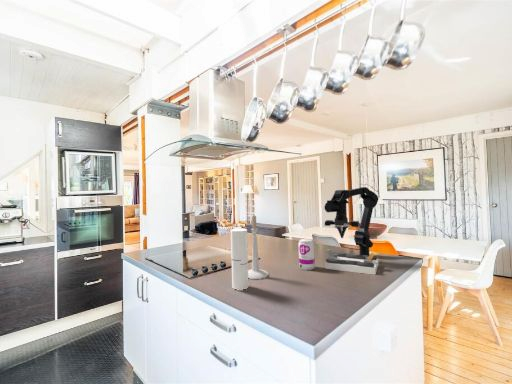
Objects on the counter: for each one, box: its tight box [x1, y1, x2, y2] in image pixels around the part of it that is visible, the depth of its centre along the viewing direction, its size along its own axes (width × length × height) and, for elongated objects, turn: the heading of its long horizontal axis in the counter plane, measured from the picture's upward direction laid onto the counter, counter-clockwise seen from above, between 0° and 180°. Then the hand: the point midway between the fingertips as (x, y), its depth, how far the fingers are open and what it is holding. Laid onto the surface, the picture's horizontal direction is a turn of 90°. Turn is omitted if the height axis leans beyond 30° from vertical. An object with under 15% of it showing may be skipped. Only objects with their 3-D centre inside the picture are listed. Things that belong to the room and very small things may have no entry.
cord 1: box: [325, 258, 374, 267], centre depth 132 cm, size 3×24×2 cm, turn 61°
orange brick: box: [367, 252, 375, 260], centre depth 134 cm, size 4×2×5 cm
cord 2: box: [333, 252, 378, 260], centre depth 145 cm, size 3×24×2 cm, turn 60°
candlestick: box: [248, 215, 270, 280], centre depth 129 cm, size 13×13×30 cm
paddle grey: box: [326, 248, 335, 257], centre depth 144 cm, size 4×2×5 cm, turn 150°
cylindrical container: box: [230, 228, 249, 291], centre depth 113 cm, size 7×7×25 cm
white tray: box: [324, 254, 379, 275], centre depth 138 cm, size 18×24×5 cm
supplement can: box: [298, 238, 316, 271], centre depth 138 cm, size 8×8×15 cm
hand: (342, 238), depth 151 cm, fingers closed
